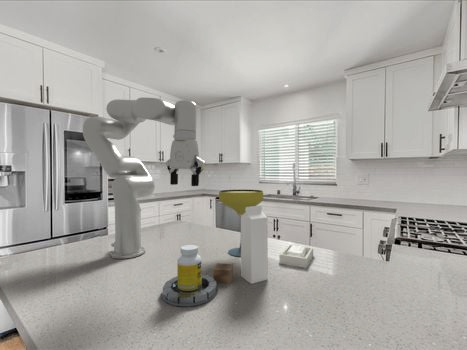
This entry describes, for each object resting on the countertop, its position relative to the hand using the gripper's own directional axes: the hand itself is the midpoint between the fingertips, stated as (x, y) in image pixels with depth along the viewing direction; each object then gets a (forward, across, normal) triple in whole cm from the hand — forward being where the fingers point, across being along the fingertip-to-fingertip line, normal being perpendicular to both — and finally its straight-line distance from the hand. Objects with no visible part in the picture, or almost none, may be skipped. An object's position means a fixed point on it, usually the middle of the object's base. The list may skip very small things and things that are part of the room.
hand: (184, 185), depth 86 cm
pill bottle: (+27, +16, -15) cm, 35 cm away
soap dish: (+27, +35, +24) cm, 50 cm away
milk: (+27, +27, +2) cm, 39 cm away
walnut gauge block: (+28, +20, -4) cm, 34 cm away
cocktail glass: (+28, +13, +21) cm, 37 cm away
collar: (+28, +16, -15) cm, 35 cm away
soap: (+26, +34, +25) cm, 50 cm away
